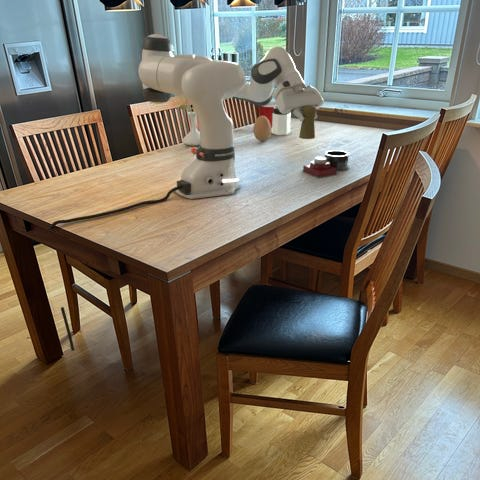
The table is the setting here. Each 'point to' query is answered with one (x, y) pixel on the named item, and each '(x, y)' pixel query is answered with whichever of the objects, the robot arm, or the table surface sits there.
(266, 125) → the egg
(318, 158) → the button
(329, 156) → the cup
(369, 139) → the table surface
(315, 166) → the panel
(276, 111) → the jar
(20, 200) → the table surface
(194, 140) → the flower in vase
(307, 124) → the olive yellow knobbed peg
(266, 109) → the plastic cup
